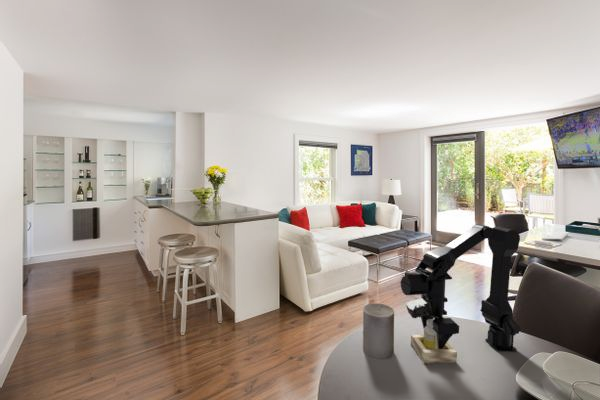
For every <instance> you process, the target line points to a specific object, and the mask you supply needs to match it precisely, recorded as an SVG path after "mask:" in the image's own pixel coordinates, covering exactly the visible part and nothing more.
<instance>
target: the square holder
mask: <svg viewBox="0 0 600 400" xmlns="http://www.w3.org/2000/svg"><path fill="white" fill-rule="evenodd" d="M410 346H411V347H412V349H413V350H414V352H415V353H416V354H417V356H418V357H419V359H420V360H421V362H422V363H423V364H457V362H458V361H457V359H458V357H457V356H458V351H456V350H455V349H454V348H453V346H452V345H451V344H450V343H449V342H448V341H447V343H446V344H445V346H444V347H443V349H442V350H427V349H426V348H425V347H424V334H410Z"/></svg>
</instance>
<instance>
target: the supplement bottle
mask: <svg viewBox="0 0 600 400" xmlns="http://www.w3.org/2000/svg"><path fill="white" fill-rule="evenodd" d="M433 320H434V318H433V319H428V320H427V326H425V328H423V335H424V347H425V348H426V349H427V350H442V349H439V348H438V343H437V333H436V332H435V331H434V330H433V329H432V328H433V325H432V323H433Z"/></svg>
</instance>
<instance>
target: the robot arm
mask: <svg viewBox="0 0 600 400" xmlns="http://www.w3.org/2000/svg"><path fill="white" fill-rule="evenodd" d="M486 239H487V243H488V247H489V249H490V251H491V254H492V259H491V260H492V262H491V274H490V286H489V287H490V288H489V295H488V297H487V298H486V299H485V300H484V299H482V300H481V301H480V302H481V308H480V310H479V311H480V312H481V315H482V317H483V318H484V322H485V323H486V324H488V325H489V327H488V330H487V338H485V339H484V340H485V342H487V344H488V345H490V346H491V347H492V348H494V349H495V350H496V351H498V352H516V351H518V350H517V348H516V347H515V346H514V337H515V336H516V335H518V334H520V331H521V326H520V325H519V324H518V323H517V322H516V321H515V320H514V313H513V308H512V307H511V304H510V302H509V290H510V288H509V286H510V278H511V277H510V274H511V263H512V256H513V255H514V254H515V253H517V251H518V249H519V245H520V241H521V235H520V234H519V233H518V231H516V230H514V229H509V228H506V227H505V228H504V227H499V226H494V227H490V226H488V225H485V224H479V223H477V224H475V225H473V226H472V227H471V228H470V229H468V230H467V231H466V232H464V233H463V234H461V235H459V236H458V237H456V238H455V239H453V240H452V241H451V242H449V243H447V244H446V245H444V246H441V247H437V248H434V249H432V250H429V251H427V252H425V254H423V257H422V259H421V261H420V262H419V264H418V265H417V266H416V268H415V269H414V271H415V272H409V271H408V272H407V271H406V272H404V276H402V277H401V280H400V289H401V292H402V293H403V294H404V295H405V296H415V295H416V296H417V295H420V298H418V297H417V298H414V299H413V300H411V301H408V302H406V303H405V307H406V310H407V312H408V314H409V315H410V316H411V318H412V319H417V318H420V319H421V325H422V328H423V329H424V328H425V326H427V320H428V319H434V320H433V323H432V325H433V328H432V329H433V330H434V331H435V332H436V333H437V343H438V348H439V349H443V347H444V346H445V344H446V343H447V342H448V341H449V340H450V339H451V338H452V336H453V335H456V334H459V333H460V325H459V324H457V322H455V320H453V319H452V318H451V317H444V316H447V315H448V311H447V310H445V303H448V300H449V299H448V298H447V297H446V281H447V280H453V277H452V276H451V275H450V274H449V273H448V272H449V271H450V270H451V269H452V268H454V266H455V263H456V260H457V259H458V258H460V257H461V256H463V255H464V254H466V253H467V252H469V251H470V250H471V249H473V248H475V247H476V246H477V245H478V244H480V243H482V242H483V241H484V240H486ZM427 269H428V270H427ZM429 270H430V271H429Z"/></svg>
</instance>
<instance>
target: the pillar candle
mask: <svg viewBox="0 0 600 400" xmlns="http://www.w3.org/2000/svg"><path fill="white" fill-rule="evenodd" d="M362 311H363V312H362V313H363V314H362V316H363V318H362V319H363V321H362V323H363V325H362V328H363V329H362V348H363V352H364V353H365V354H366V355H367V356H369V357H371V358H377V359H381V360H382V359H388V358H391V357H392V356H393V355H394V352H395V340H394V339H395V310H394V308H393V307H391V306H389V305H387V304H383V303H375V302H373V303H368V304H365V305H364V306H363V309H362Z"/></svg>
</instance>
